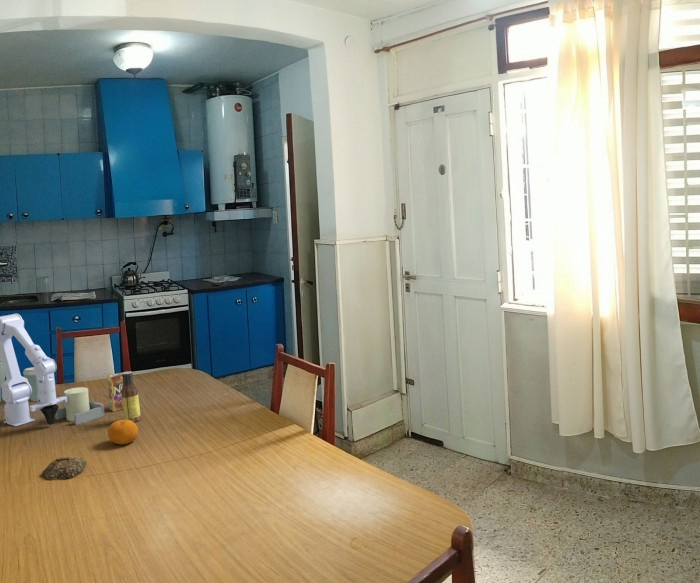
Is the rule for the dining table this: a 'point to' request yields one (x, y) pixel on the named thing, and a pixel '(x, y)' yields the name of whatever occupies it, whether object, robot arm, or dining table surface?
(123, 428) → the fruit
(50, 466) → the rough brown rock
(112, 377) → the candy box
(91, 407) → the box
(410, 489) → the dining table surface
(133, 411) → the sauce bottle
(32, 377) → the disposable coffee cup
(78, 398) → the can
